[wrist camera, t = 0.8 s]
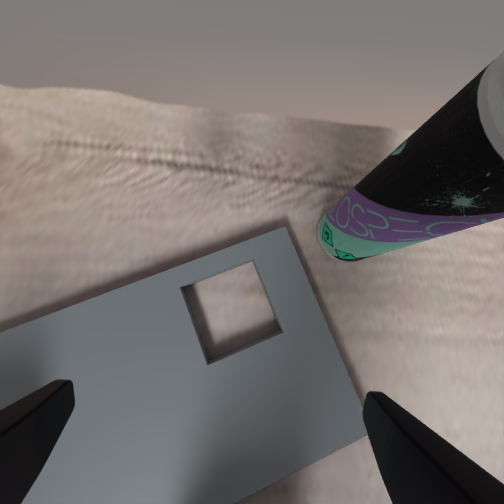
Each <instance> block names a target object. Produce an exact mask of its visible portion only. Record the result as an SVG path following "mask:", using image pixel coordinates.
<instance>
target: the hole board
mask: <svg viewBox="0 0 504 504" xmlns="http://www.w3.org/2000/svg"><path fill="white" fill-rule="evenodd" d="M251 261H253V263H254V266H255V268H256V271H257V273H258V276H259V278H260V281H261V283H262V286H263V288H264V291H265V293H266V296H267V298H268V301H269V303H270V306H271V308H272V311H273V313H274V316H275V318H276V321H277V323H278V326H279V328H280V331H277V332H275V333H273V334H270V335H268V336H266V337H264V338H261V339H259V340H257V341H254V342H252V343H250V344H247V345H245V346H243V347H240V348H238V349H236V350H233V351H231V352H229V353H226V354H224V355H222V356H219V357H217V358H215V359H212V360H210V361H209V359H208V356H207V354H206V351H205V348H204V345H203V342H202V340H201V337H200V334H199V331H198V328H197V325H196V323H195V320H194V317H193V314H192V311H191V309H190V306H189V303H188V300H187V297H186V295H185V292H184V289H183V288H184V287H186V286H189V285H192V284H194V283H197V282H199V281H202V280H205V279H207V278H210V277H212V276H215V275H217V274H220V273H223V272H225V271H228V270H230V269H233V268H236V267H238V266H241V265H243V264H246V263H249V262H251ZM56 379H69V380H71V381H72V382H73V386H74V394H75V407H74V410H73V412H72V414H71V416H70V418H69V420H68V422H67V424H66V426H65V428H64V429H63V431H62V433H61V435H60V437H59V439H58V441H57V443H56V445H55V447H54V449H53V451H52V452H51V454H50V456H49V458H48V460H47V462H46V464H45V466H44V467H43V469H42V471H41V473H40V474H39V476H38V477H37V479H36V481H35V482H34V484H33V486H32V487H31V489H30V490H29V492H28V494H27V495H26V497H25V498H24V500H23V501H22V503H21V504H234V503H236V502H238V501H240V500H242V499H244V498H246V497H248V496H250V495H252V494H254V493H256V492H258V491H260V490H262V489H264V488H265V487H267V486H269V485H271V484H273V483H275V482H277V481H279V480H281V479H283V478H285V477H287V476H289V475H291V474H293V473H295V472H297V471H298V470H300V469H302V468H304V467H306V466H308V465H310V464H312V463H314V462H316V461H318V460H320V459H322V458H324V457H326V456H328V455H330V454H331V453H333V452H335V451H337V450H339V449H341V448H343V447H345V446H347V445H349V444H351V443H353V442H355V441H357V440H359V439H361V438H363V437H364V436H366V435H368V433H367V430H366V427H365V424H364V421H363V407H362V404H361V402H360V400H359V397H358V395H357V393H356V390H355V388H354V386H353V383H352V381H351V378H350V376H349V374H348V371H347V369H346V367H345V364H344V362H343V360H342V357H341V355H340V353H339V350H338V348H337V346H336V343H335V341H334V339H333V336H332V334H331V332H330V329H329V327H328V325H327V322H326V320H325V318H324V315H323V313H322V311H321V308H320V306H319V303H318V301H317V299H316V296H315V294H314V292H313V289H312V287H311V285H310V282H309V280H308V278H307V275H306V273H305V271H304V268H303V266H302V264H301V261H300V259H299V257H298V254H297V252H296V250H295V247H294V245H293V243H292V240H291V238H290V236H289V233H288V231H287V228H286V226H284V227H281V228H279V229H276V230H273V231H271V232H268V233H265V234H263V235H260V236H257V237H254V238H252V239H249V240H246V241H244V242H241V243H238V244H236V245H233V246H230V247H228V248H225V249H222V250H220V251H217V252H214V253H212V254H209V255H206V256H204V257H201V258H198V259H196V260H193V261H190V262H187V263H185V264H182V265H179V266H177V267H174V268H171V269H169V270H166V271H163V272H161V273H158V274H155V275H153V276H150V277H147V278H145V279H142V280H139V281H137V282H134V283H131V284H129V285H126V286H123V287H120V288H118V289H115V290H112V291H110V292H107V293H104V294H102V295H99V296H96V297H94V298H91V299H88V300H86V301H83V302H80V303H78V304H75V305H72V306H70V307H67V308H64V309H62V310H59V311H56V312H53V313H51V314H48V315H45V316H43V317H40V318H37V319H35V320H32V321H29V322H27V323H24V324H21V325H19V326H16V327H13V328H11V329H8V330H5V331H3V332H0V410H1V409H3V408H5V407H7V406H9V405H10V404H12V403H14V402H16V401H18V400H19V399H21V398H23V397H25V396H27V395H28V394H30V393H32V392H34V391H36V390H38V389H39V388H41V387H43V386H45V385H47V384H48V383H50V382H52V381H54V380H56Z"/></svg>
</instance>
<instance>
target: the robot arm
mask: <svg viewBox="0 0 504 504" xmlns="http://www.w3.org/2000/svg"><path fill="white" fill-rule="evenodd" d="M74 407H75V394H74V386H73V382H72V381H71V380H69V379H56V380H54V381H52V382H50V383H48V384H47V385H45V386H43V387H41V388H39V389H38V390H36V391H34V392H32V393H30V394H28V395H27V396H25V397H23V398H21V399H19V400H18V401H16V402H14V403H12V404H10V405H9V406H7V407H5V408H3V409H1V410H0V504H21V503H22V501H23V500H24V498H25V497H26V495H27V494H28V492H29V490H30V489H31V487H32V486H33V484H34V482H35V481H36V479H37V477H38V476H39V474H40V473H41V471H42V469H43V467H44V466H45V464H46V462H47V460H48V458H49V456H50V454H51V452H52V451H53V449H54V447H55V445H56V443H57V441H58V439H59V437H60V435H61V433H62V431H63V429H64V428H65V426H66V424H67V422H68V420H69V418H70V416H71V414H72V412H73V410H74ZM363 421H364V424H365V427H366V430H367V433H368V437H369V440H370V443H371V446H372V449H373V452H374V455H375V458H376V461H377V464H378V467H379V470H380V473H381V476H382V479H383V481H384V484H385V486H386V489H387V491H388V494H389V496H390V498H391V501H392V503H393V504H504V484H503V483H501V482H500V481H499V480H497V479H496V478H495V477H493V476H492V475H491V474H489V473H488V472H487V471H485V470H484V469H483V468H482V467H480V466H479V465H478V464H476V463H475V462H474V461H472V460H471V459H470V458H468V457H467V456H466V455H464V454H463V453H462V452H460V451H459V450H458V449H456V448H455V447H454V446H453V445H451V444H450V443H449V442H447V441H446V440H445V439H443V438H442V437H441V436H439V435H438V434H437V433H435V432H434V431H433V430H431V429H430V428H429V427H427V426H426V425H425V424H423V423H422V422H421V421H420V420H418V419H417V418H416V417H414V416H413V415H412V414H410V413H409V412H408V411H406V410H405V409H404V408H402V407H401V406H400V405H398V404H397V403H396V402H394V401H393V400H392V399H391V398H389V397H388V396H387V395H385V394H384V393H382V392H377V391H370V392H368V393H367V395H366V399H365V403H364V408H363Z"/></svg>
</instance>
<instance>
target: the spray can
mask: <svg viewBox="0 0 504 504" xmlns="http://www.w3.org/2000/svg"><path fill="white" fill-rule="evenodd" d="M501 218H504V52H502V53H501V54H500V55H499V56H498V57H497V58H496V59H495V60H494V61H493V62H491V63H490V64H489V65H488V66H487V67H486V68H485V69H484V70H483V71H481V72H480V73H479V74H478V75H477V76H476V77H475V78H474V79H473V80H471V81H470V82H469V83H468V84H467V85H466V86H465V87H464V88H463V89H462V90H460V91H459V92H458V93H457V94H456V95H455V96H454V97H453V98H452V99H451V100H449V101H448V102H447V103H446V104H445V105H444V106H443V107H442V108H441V109H440V110H438V112H436V113H435V114H434V115H433V116H432V117H431V118H430V119H429V120H428V121H426V122H425V123H424V124H423V125H422V126H421V127H420V128H419V129H418V130H416V131H415V132H414V133H413V134H412V135H411V136H410V137H409V138H408V139H406V140H405V141H404V142H403V143H402V144H401V145H400V146H399V147H398V148H397V149H395V150H394V151H393V152H392V153H391V154H390V155H389V156H388V157H387V158H386V159H384V160H383V161H382V162H381V163H380V164H379V165H378V166H377V167H376V168H375V169H373V170H372V171H371V172H370V173H369V174H368V175H367V176H366V177H365V178H364V179H362V180H361V181H360V182H359V183H358V184H357V185H356V186H355V187H354V188H352V189H351V190H350V191H349V192H348V193H347V194H346V195H345V196H344V197H343V198H341V199H340V200H339V201H338V202H337V203H336V204H335V205H334V206H333V207H332V208H330V209H329V210H328V211H327V212H326V213H325V214H324V215H323V217H322V218H321V220H320V221H319V224H318V227H317V238H318V242H319V244H320V246H321V248H322V249H323V251H324V252H325V253H326V254H327V255H328V256H329V257H331V258H332V259H334V260H337V261H340V262H354V261H358V260H362V259H365V258H368V257H372V256H375V255H379V254H382V253H385V252H389V251H392V250H396V249H399V248H402V247H406V246H409V245H413V244H416V243H419V242H423V241H426V240H430V239H433V238H436V237H440V236H443V235H447V234H450V233H453V232H457V231H460V230H464V229H467V228H470V227H474V226H477V225H481V224H484V223H487V222H491V221H494V220H498V219H501Z"/></svg>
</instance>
